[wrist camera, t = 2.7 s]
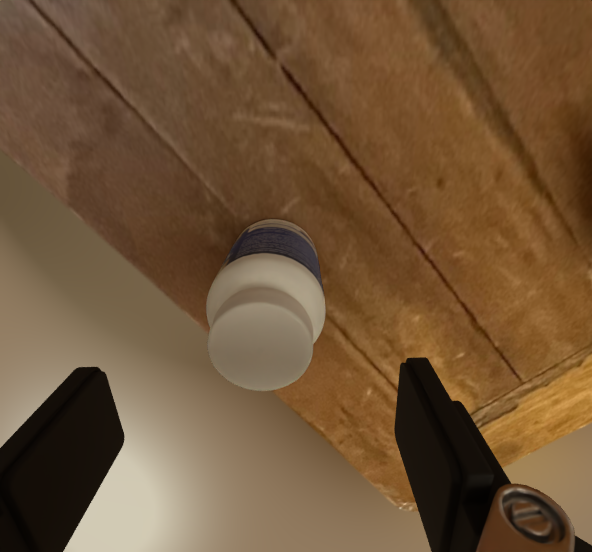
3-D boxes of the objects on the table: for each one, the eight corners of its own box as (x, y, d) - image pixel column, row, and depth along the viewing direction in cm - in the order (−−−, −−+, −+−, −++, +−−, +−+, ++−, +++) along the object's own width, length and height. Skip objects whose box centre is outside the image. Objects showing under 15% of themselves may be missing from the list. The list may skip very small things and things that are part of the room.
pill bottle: (227, 219, 21) (174, 287, 12) (316, 215, 21) (331, 281, 12) (237, 299, 23) (199, 408, 14) (318, 295, 23) (332, 404, 14)
